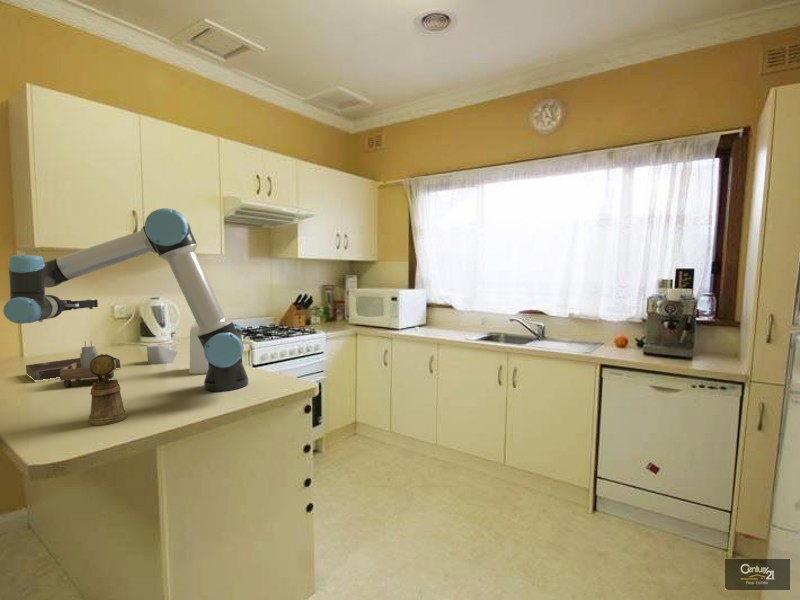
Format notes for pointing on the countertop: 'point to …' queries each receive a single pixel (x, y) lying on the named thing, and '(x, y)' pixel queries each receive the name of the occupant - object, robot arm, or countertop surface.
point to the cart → (78, 373)
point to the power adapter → (87, 355)
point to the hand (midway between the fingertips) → (71, 303)
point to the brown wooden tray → (54, 368)
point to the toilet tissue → (160, 353)
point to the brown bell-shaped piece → (105, 394)
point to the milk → (197, 352)
